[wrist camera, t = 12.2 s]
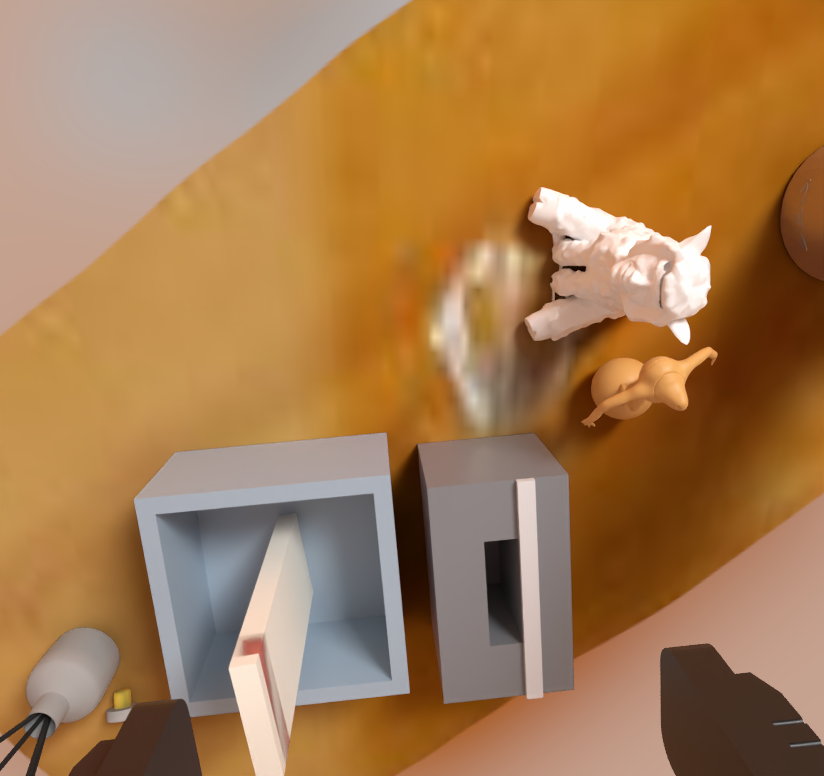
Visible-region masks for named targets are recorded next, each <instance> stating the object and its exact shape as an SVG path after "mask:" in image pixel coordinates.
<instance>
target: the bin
mask: <svg viewBox="0 0 824 776" xmlns="http://www.w3.org/2000/svg"><path fill="white" fill-rule="evenodd" d="M134 503H135V509H136V514H137V519H138V525H139V530H140V535H141V540H142V546H143V551H144V556H145V562H146V567H147V572H148V578H149V583H150V588H151V594H152V599H153V604H154V610H155V615H156V620H157V626H158V631H159V636H160V642H161V647H162V652H163V658H164V663H165V668H166V673H167V679H168V684H169V689H170V695H171V700H172V699H183V700H185V702H186V704H187V706H188V710H189V715H190V717H198V716H207V715H216V714H225V713H235V712H240V711H239V707H238V703H237V699H236V696H235V692H234V688H233V684H232V680H231V676H230V672H229V665H230V662H231V659H232V656H233V653H234V650H235V647H236V644H237V641H238V638H239V634H240V631H241V628H242V625H243V622H244V619H245V616H246V613H247V610H248V607H249V604H250V601H251V598H252V595H253V592H254V589H255V585H256V582H257V579H258V576H259V573H260V570H261V567H262V564H263V561H264V558H265V555H266V552H267V549H268V546H269V543H270V540H271V536H272V533H273V530H274V527H275V524H276V521H277V518H278V516H279V515H285V514H290V513H296V514H297V519H298V524H299V528H300V533H301V538H302V542H303V547H304V552H305V556H306V561H307V566H308V570H309V575H310V580H311V584H312V589H313V597H312V603H311V609H310V616H309V622H308V628H307V634H306V641H305V647H304V653H303V659H302V666H301V672H300V678H299V685H298V691H297V697H296V703H295V706H299V705H308V704H317V703H326V702H335V701H344V700H353V699H362V698H372V697H381V696H390V695H399V694H408V693H410V688H409V676H408V665H407V653H406V641H405V630H404V618H403V607H402V596H401V585H400V574H399V563H398V552H397V541H396V530H395V519H394V509H393V498H392V487H391V476H390V465H389V454H388V443H387V433H376V434H365V435H354V436H344V437H333V438H322V439H312V440H301V441H290V442H279V443H269V444H258V445H247V446H237V447H226V448H215V449H204V450H194V451H183V452H175V453H174V455H173V456H172V457H171V458H170V459H169V460H168V461H167V462H166V464H165V465H164V466H163V467H162V468H161V469H160V470H159V471H158V473H157V474H156V475H155V476H154V477H153V478H152V479H151V480H150V482H149V483H148V484H147V485H146V486H145V487H144V488H143V489H142V491H141V492H140V493H139V494H138V495H137V496H136V497H135V498H134Z"/></svg>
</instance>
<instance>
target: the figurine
mask: <svg viewBox="0 0 824 776" xmlns="http://www.w3.org/2000/svg"><path fill="white" fill-rule="evenodd" d="M717 355H718V354H717V352H716V351H714V350H712V348H711V347H706V348H703V349H701V350H699V351H698V352H696V353H694V354H693V355H691V356H690V357H688V358H687V359H684V360H681V361H676V360H674V359H672V358H669V357H664V356H659V357H654V358H651V359H649V360H648V361H647V362H645V363H644V364H642V363H641V362H639V361H637V360H634V359H631V358H616V359H613V360H610V361H608V362H606V363H605V364H603V365H602V366H601V367H600V368H599V369H598V370H597V372H596V373H595V375H594V377H593V380H592V384H591V393H592V398H593V400H594V402H595V404H596V406H597V408H596V409H595V410H594V411H593V412H592V413H591V414H590V416H589V417H588V418H586V419H584V420H583V421H582V422H581V423H583V424H584V426H586V425H588V427H590V425H593V426H595V424H594V423H593V422H594V421H596V420H597V419H599V418H600V417H601V415H602V414H603V413H604V414H606V415H608V416H610V417H612V418H615V419H622V420H625V419H632V418H635V417H638V416H640V415H641V414H643V413H644V412H645V411H646V410H647V409H648V408H649V407H650V406H651V404H652V403H662V402H663V403H664V404H666V405H667V406H669V407H671V408H672V409H674V410H678V411H683V410H685V409H686V408H687V406H688V397H687V393H686V390H685V382H686V380H687V377H688V375H689V374H690V373H691V371H692V370H693V369H694V368H695V367H696V366H698V365H699V364H701V363H702V362H703V361H704V360H705V359H707V358H711V359H712V362H711V365H713V363H714V361H715V360H716V358H717Z"/></svg>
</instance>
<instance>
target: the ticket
mask: <svg viewBox="0 0 824 776" xmlns="http://www.w3.org/2000/svg"><path fill="white" fill-rule="evenodd" d="M312 597H313V589H312V584H311V580H310V575H309V570H308V566H307V561H306V556H305V552H304V547H303V542H302V538H301V533H300V528H299V524H298V519H297V514H296V513H290V514H285V515H279V516H278V518H277V521H276V524H275V527H274V530H273V533H272V536H271V540H270V543H269V546H268V549H267V552H266V555H265V558H264V561H263V564H262V567H261V570H260V573H259V576H258V579H257V582H256V585H255V589H254V592H253V595H252V598H251V601H250V604H249V607H248V610H247V613H246V616H245V619H244V622H243V625H242V628H241V631H240V634H239V638H238V641H237V644H236V647H235V650H234V653H233V656H232V659H231V662H230V665H229V672H230V676H231V680H232V684H233V688H234V692H235V696H236V699H237V703H238V707H239V711H240V715H241V719H242V723H243V727H244V731H245V735H246V739H247V743H248V746H249V750H250V754H251V758H252V762H253V766H254V770H255V774H256V776H284V772H285V766H286V760H287V753H288V747H289V741H290V735H291V728H292V722H293V716H294V710H295V703H296V697H297V691H298V685H299V678H300V672H301V666H302V659H303V653H304V647H305V641H306V634H307V628H308V622H309V616H310V609H311V603H312Z"/></svg>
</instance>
